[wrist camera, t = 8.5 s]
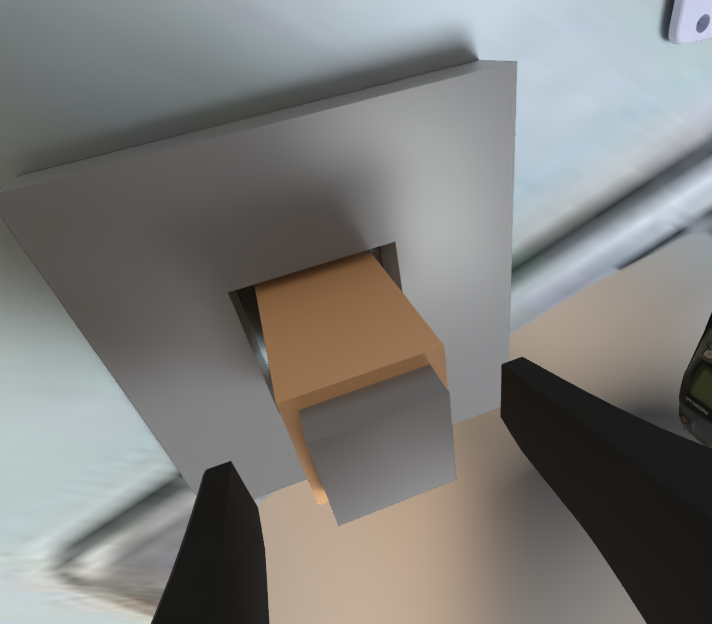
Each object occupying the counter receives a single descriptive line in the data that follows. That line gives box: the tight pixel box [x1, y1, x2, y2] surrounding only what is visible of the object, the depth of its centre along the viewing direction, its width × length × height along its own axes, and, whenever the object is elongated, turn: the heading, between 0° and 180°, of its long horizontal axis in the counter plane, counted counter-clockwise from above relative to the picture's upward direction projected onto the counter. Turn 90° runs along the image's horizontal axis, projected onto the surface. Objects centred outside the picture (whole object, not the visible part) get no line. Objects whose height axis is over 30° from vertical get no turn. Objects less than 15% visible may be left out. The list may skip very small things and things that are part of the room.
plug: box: [254, 250, 457, 526], centre depth 13 cm, size 4×4×8 cm
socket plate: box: [0, 60, 517, 499], centre depth 16 cm, size 14×14×2 cm
